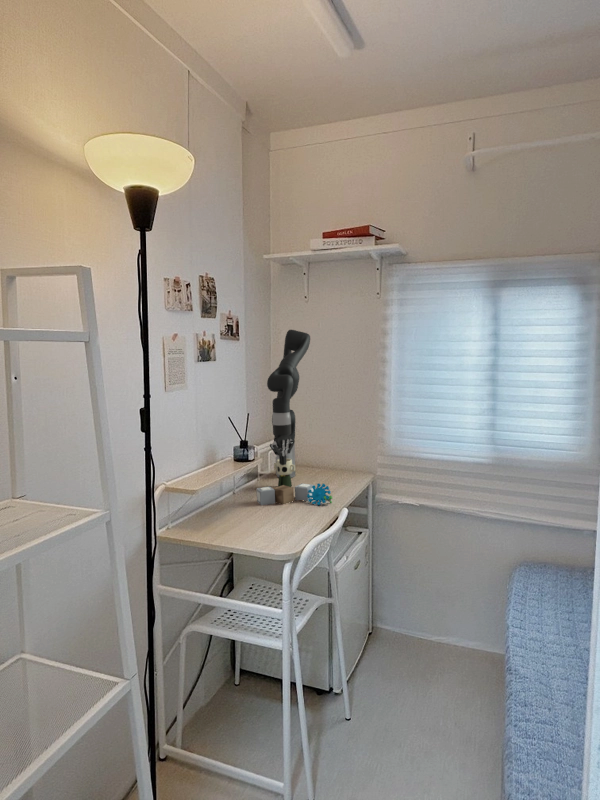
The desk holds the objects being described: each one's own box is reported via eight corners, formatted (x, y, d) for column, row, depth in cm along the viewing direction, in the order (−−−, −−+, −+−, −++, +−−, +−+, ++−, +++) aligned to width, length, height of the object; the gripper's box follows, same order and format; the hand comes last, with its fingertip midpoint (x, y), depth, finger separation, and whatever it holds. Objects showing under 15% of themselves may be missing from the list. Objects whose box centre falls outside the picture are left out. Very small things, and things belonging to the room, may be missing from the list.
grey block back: (295, 500, 225) (294, 486, 224) (301, 496, 230) (301, 482, 229) (308, 502, 222) (307, 487, 221) (314, 498, 227) (314, 484, 226)
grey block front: (256, 501, 224) (256, 487, 223) (270, 499, 226) (270, 486, 226) (261, 505, 218) (260, 491, 218) (275, 503, 221) (274, 489, 220)
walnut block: (273, 502, 223) (273, 488, 222) (283, 498, 227) (283, 485, 226) (283, 504, 219) (283, 490, 218) (293, 501, 223) (293, 487, 222)
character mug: (270, 488, 243) (269, 460, 242) (278, 484, 250) (277, 457, 248) (291, 491, 238) (291, 462, 237) (299, 487, 245) (298, 459, 243)
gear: (302, 499, 219) (313, 479, 224) (307, 506, 223) (318, 486, 228) (324, 507, 213) (335, 486, 217) (329, 514, 217) (340, 494, 221)
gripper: (276, 425, 212) (278, 468, 214) (299, 421, 222) (300, 462, 223) (263, 424, 217) (265, 466, 219) (286, 420, 227) (287, 460, 228)
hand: (283, 464), depth 221 cm, fingers closed
